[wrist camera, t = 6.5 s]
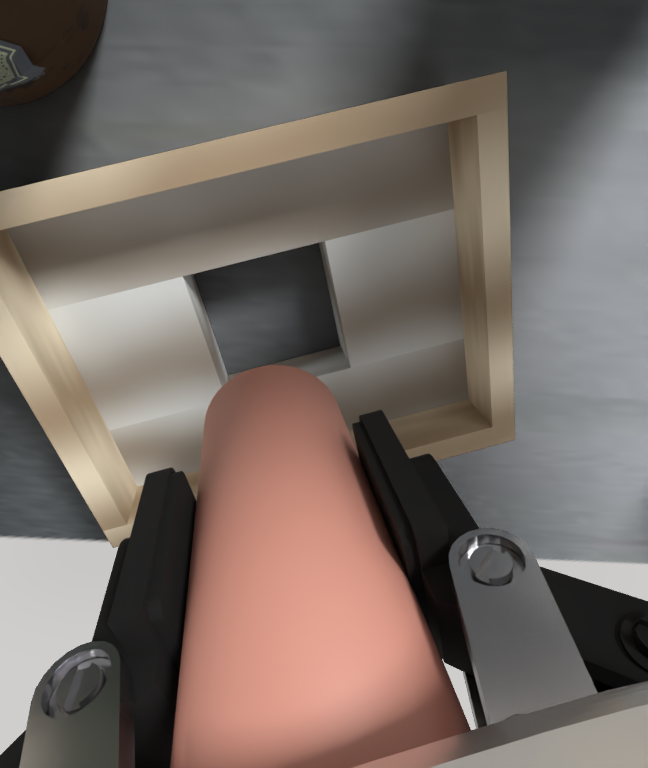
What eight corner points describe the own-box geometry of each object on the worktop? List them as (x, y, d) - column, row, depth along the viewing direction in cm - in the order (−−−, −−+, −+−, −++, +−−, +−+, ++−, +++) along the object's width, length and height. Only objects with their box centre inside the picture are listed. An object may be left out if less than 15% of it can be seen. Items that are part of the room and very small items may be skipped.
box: (-8, 193, 19) (-86, 211, 14) (445, 84, 19) (506, 70, 15) (135, 475, 25) (112, 547, 21) (468, 387, 26) (515, 439, 22)
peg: (184, 386, 13) (1, 1313, 3) (325, 349, 14) (658, 1075, 3) (228, 496, 15) (217, 1307, 5) (351, 462, 15) (613, 1161, 5)
